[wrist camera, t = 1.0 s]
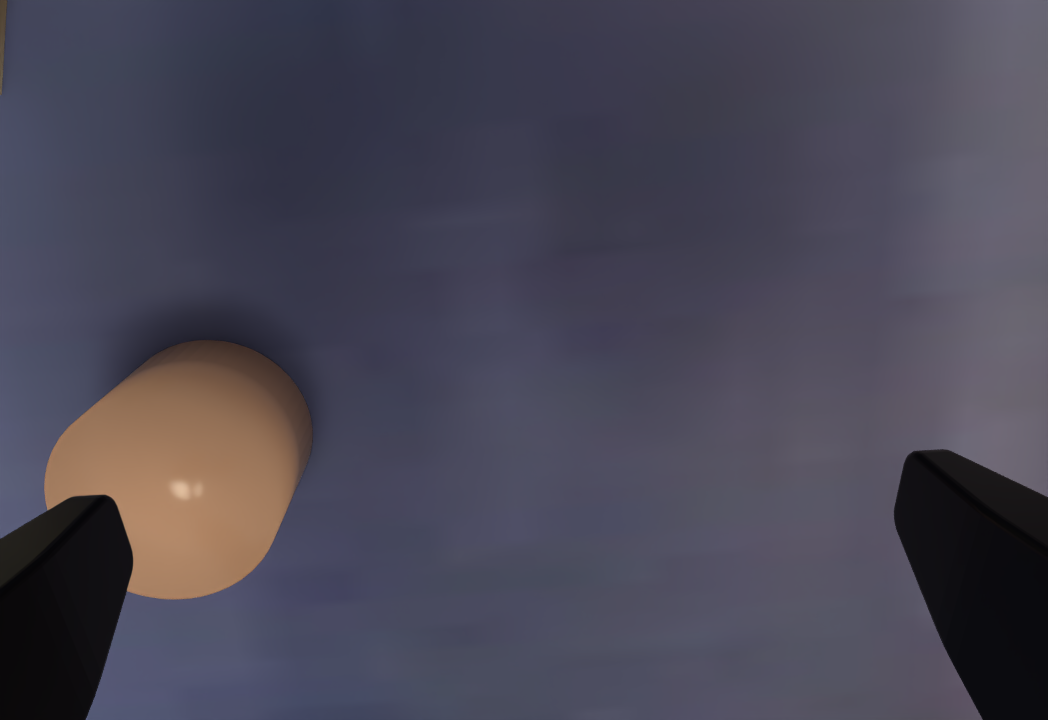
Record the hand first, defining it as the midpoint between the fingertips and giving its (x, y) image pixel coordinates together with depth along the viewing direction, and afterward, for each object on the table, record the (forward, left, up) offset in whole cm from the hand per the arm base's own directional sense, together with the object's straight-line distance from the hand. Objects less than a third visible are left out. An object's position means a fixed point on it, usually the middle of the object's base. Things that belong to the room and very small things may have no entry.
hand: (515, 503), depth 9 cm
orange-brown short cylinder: (-7, +5, -12) cm, 15 cm away
